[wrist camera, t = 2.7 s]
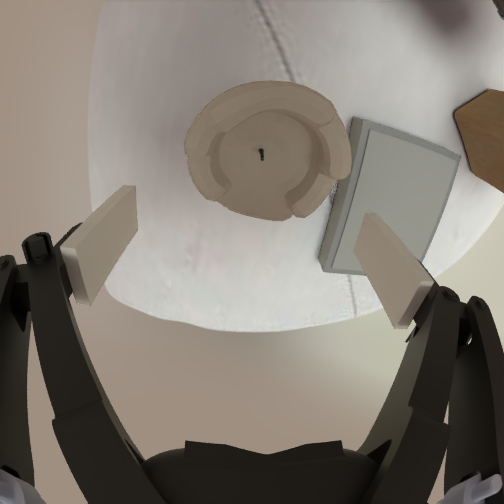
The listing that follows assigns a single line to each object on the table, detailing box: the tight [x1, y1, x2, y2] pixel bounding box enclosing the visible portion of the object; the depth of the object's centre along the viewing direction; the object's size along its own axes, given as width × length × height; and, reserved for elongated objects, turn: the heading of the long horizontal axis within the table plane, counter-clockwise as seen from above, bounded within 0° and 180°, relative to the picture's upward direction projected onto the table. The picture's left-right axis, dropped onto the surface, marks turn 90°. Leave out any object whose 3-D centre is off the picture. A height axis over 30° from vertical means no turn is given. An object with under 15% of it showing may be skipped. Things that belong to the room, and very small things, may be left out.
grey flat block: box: [318, 117, 461, 276], centre depth 29 cm, size 18×14×3 cm
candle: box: [184, 81, 352, 221], centre depth 19 cm, size 7×14×20 cm, turn 171°
